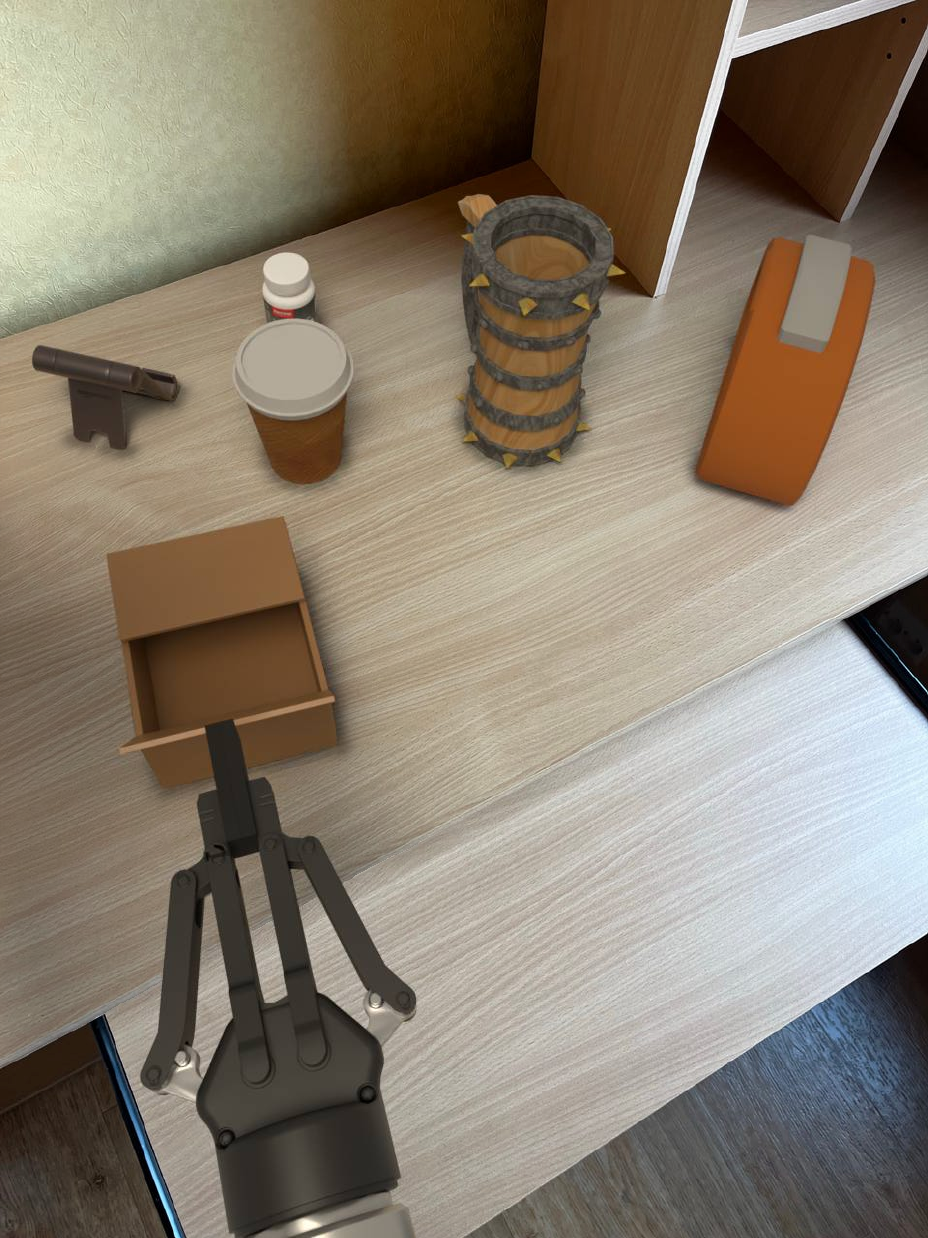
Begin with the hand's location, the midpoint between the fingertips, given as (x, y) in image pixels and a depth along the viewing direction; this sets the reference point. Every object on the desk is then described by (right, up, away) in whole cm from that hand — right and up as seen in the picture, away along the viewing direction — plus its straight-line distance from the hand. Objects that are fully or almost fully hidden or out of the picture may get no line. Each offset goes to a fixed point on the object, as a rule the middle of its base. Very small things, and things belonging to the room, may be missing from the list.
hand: (222, 733), depth 56 cm
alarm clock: (+40, +25, +41) cm, 63 cm away
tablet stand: (-18, +24, +38) cm, 49 cm away
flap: (-2, 0, +10) cm, 10 cm away
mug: (+17, +26, +40) cm, 51 cm away
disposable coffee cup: (-1, +20, +37) cm, 42 cm away
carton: (-5, +1, +25) cm, 26 cm away
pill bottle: (-3, +32, +43) cm, 54 cm away
